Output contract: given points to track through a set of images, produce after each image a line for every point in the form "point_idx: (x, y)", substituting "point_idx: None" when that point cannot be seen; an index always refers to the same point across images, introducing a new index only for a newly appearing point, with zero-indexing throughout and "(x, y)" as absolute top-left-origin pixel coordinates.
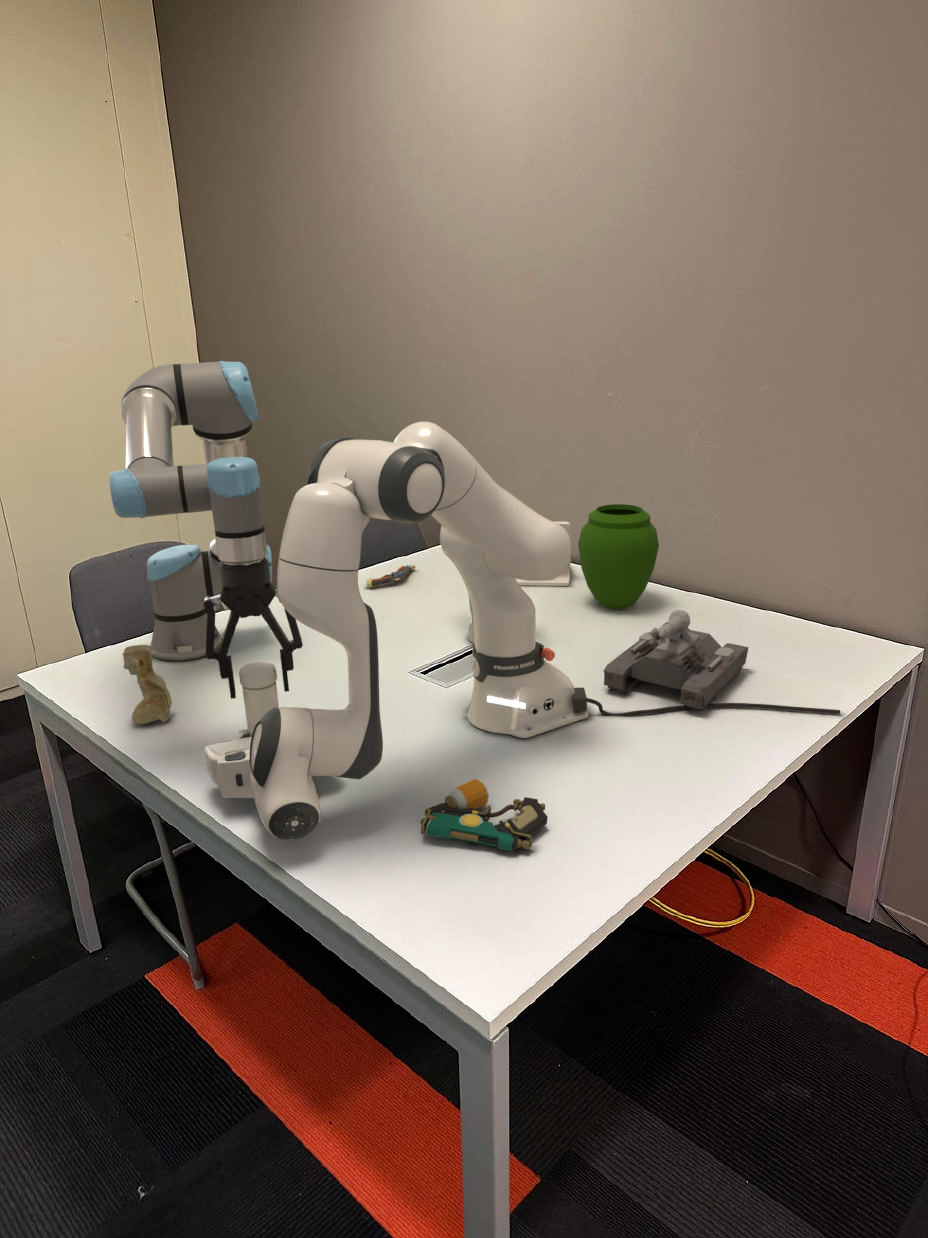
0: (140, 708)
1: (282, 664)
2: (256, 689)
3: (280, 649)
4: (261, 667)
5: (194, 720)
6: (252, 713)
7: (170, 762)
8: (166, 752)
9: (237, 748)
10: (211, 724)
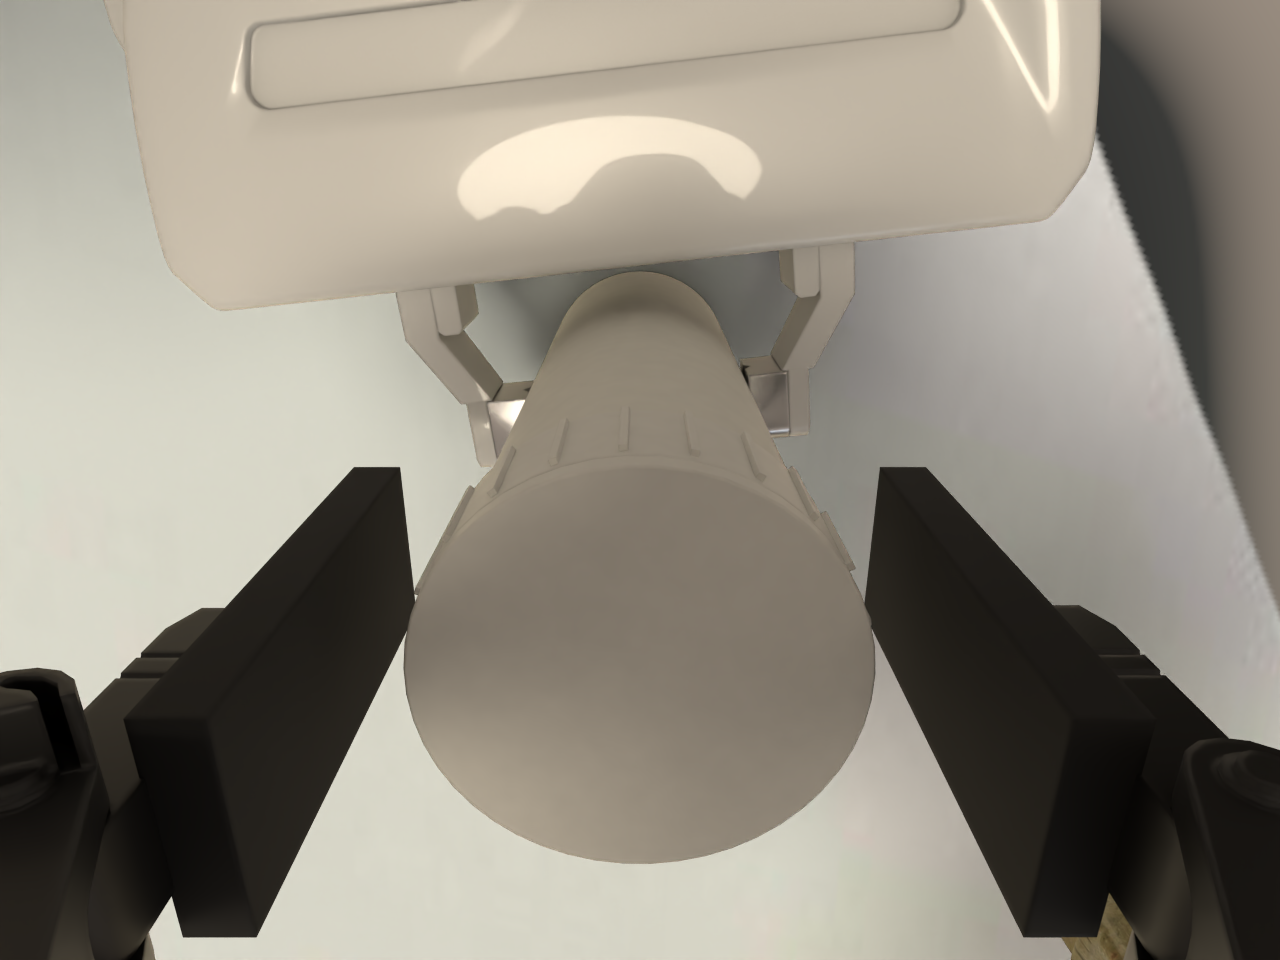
0: None
1: (264, 623)
2: None
3: (241, 928)
4: (584, 705)
5: (955, 852)
6: (723, 371)
7: (1114, 515)
8: (1117, 613)
9: (858, 66)
10: (885, 801)
